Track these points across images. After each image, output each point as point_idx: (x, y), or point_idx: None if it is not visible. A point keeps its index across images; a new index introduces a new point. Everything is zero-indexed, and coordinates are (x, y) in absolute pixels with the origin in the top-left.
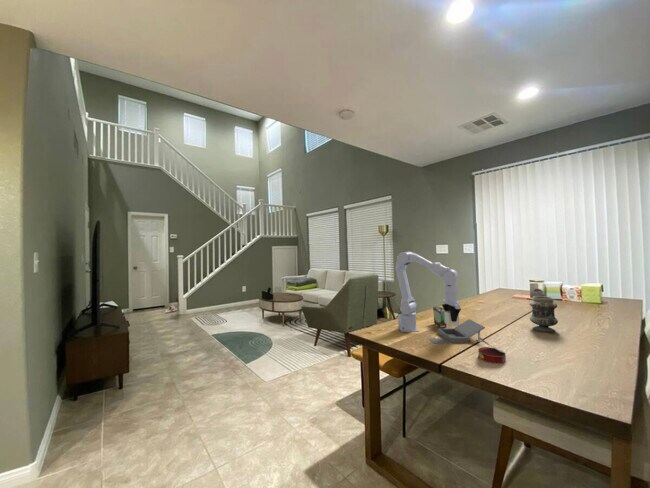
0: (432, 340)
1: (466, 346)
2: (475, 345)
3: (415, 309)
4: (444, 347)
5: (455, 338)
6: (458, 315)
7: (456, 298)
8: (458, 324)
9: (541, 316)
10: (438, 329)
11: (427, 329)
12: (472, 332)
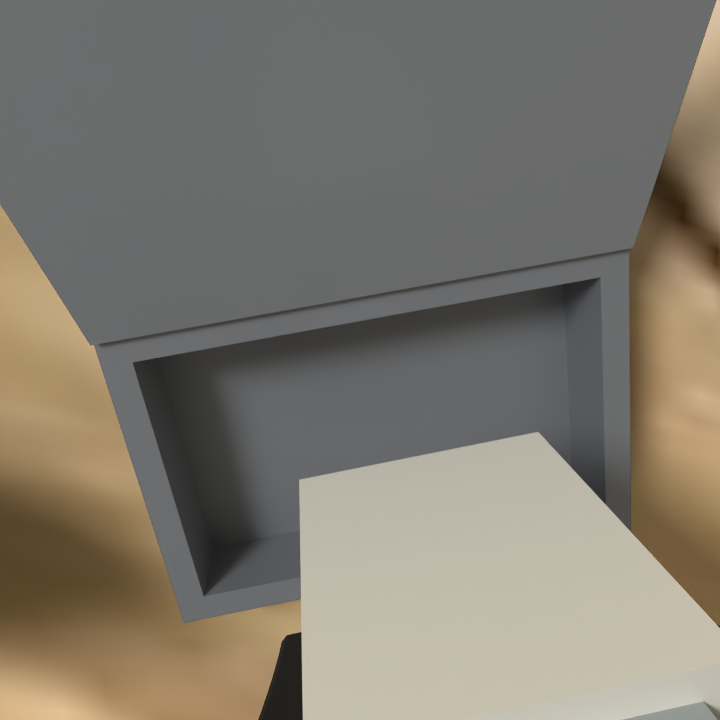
0: None
1: (716, 318)
2: (695, 174)
3: None
4: (715, 575)
5: (625, 456)
6: (700, 623)
7: None
8: (549, 457)
9: None
10: (206, 614)
11: (6, 672)
12: (603, 148)
